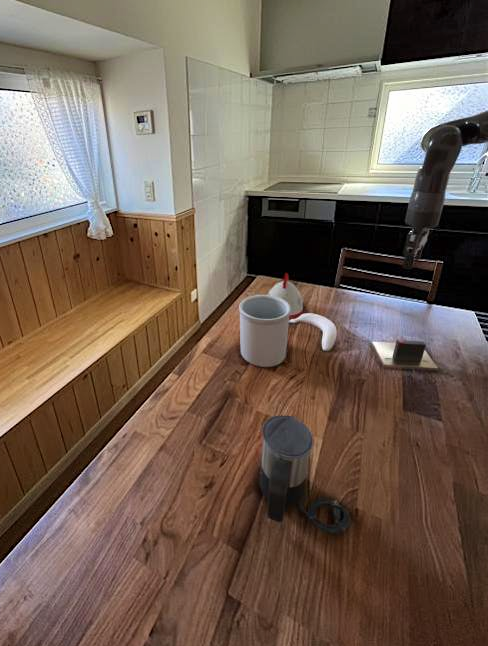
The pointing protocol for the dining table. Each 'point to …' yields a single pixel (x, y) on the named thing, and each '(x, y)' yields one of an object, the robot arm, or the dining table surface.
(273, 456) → the milk frother
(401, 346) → the dark grey rectangular block
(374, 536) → the dining table surface
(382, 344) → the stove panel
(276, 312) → the utensil holder
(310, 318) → the banana
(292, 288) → the kitchen timer
